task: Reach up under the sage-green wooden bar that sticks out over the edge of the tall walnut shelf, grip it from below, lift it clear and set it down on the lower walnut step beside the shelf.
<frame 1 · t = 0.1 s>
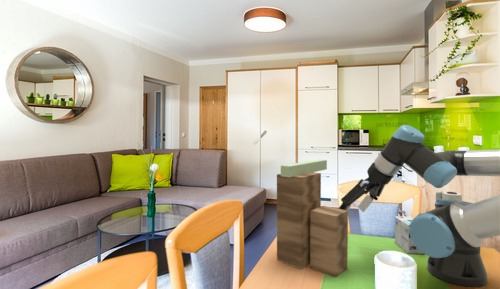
hand: (349, 212, 105), 15 cm above the table, tool tilted 35°, fingers open, 13 cm apart
sage bar: (305, 172, 103), point 30 cm above the table, touching walnut stand
light bulb box: (409, 248, 110), on the table
paper towel roll: (448, 249, 109), on the table
walnut stand: (298, 258, 102), on the table
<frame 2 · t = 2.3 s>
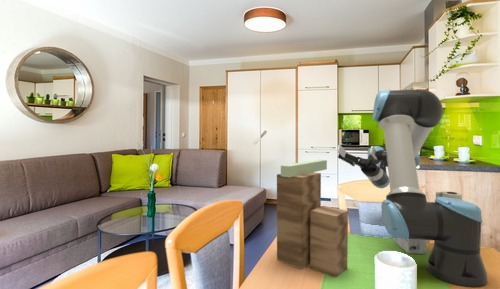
hand: (354, 148, 116), 37 cm above the table, tool pointing upward, fingers open, 13 cm apart
nothing on the table moved.
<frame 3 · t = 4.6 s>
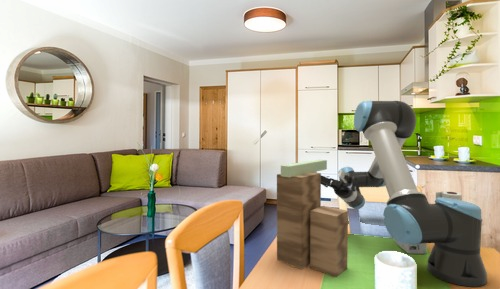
hand: (323, 171, 114), 29 cm above the table, tool pointing upward, fingers open, 13 cm apart
nothing on the table moved.
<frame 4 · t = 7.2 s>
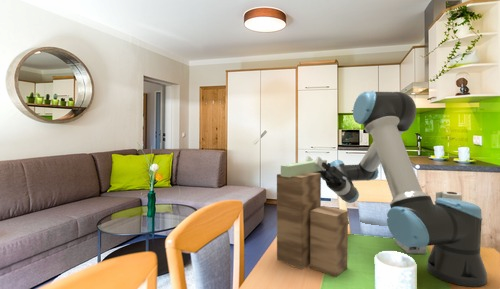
hand: (311, 159, 106), 34 cm above the table, tool pointing upward, fingers closed on sage bar, 3 cm apart
sage bar: (305, 172, 103), point 30 cm above the table, touching gripper, walnut stand
everything else where it was.
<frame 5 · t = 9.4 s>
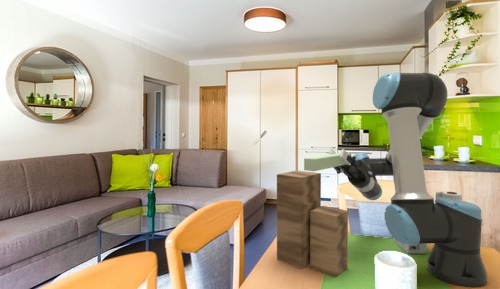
hand: (336, 152, 96), 38 cm above the table, tool pointing upward, fingers closed on sage bar, 3 cm apart
sage bar: (329, 166, 93), point 33 cm above the table, touching gripper
everything else where it was.
when the fingers open (25 cm above the table, at t = 11.7 s): sage bar drops 2 cm, resting on walnut stand.
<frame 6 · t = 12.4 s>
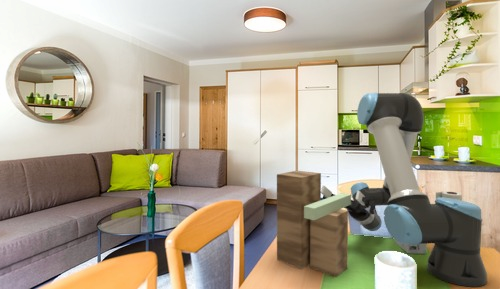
hand: (339, 191, 97), 24 cm above the table, tool pointing upward, fingers open, 12 cm apart
sage bar: (329, 210, 94), point 19 cm above the table, touching walnut stand
everything else where it was.
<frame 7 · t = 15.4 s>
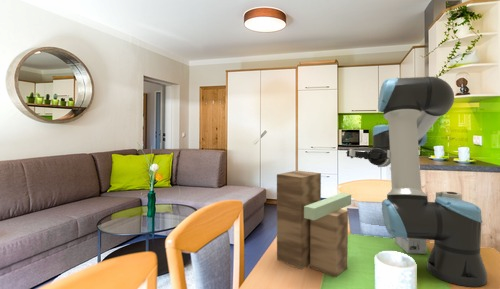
hand: (368, 152, 110), 36 cm above the table, tool horizontal, fingers open, 13 cm apart
nothing on the table moved.
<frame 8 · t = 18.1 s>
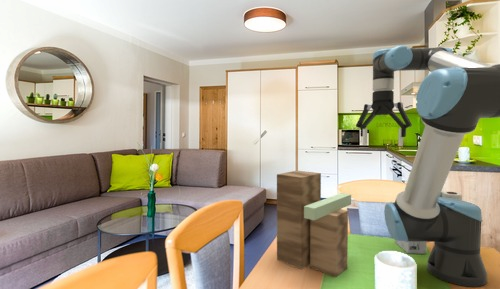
hand: (382, 145, 114), 39 cm above the table, tool pointing down, fingers open, 13 cm apart
nothing on the table moved.
at the end: sage bar inside the target area (0.5 cm from its centre), point 19.0 cm above the table; the gripper is holding nothing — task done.
